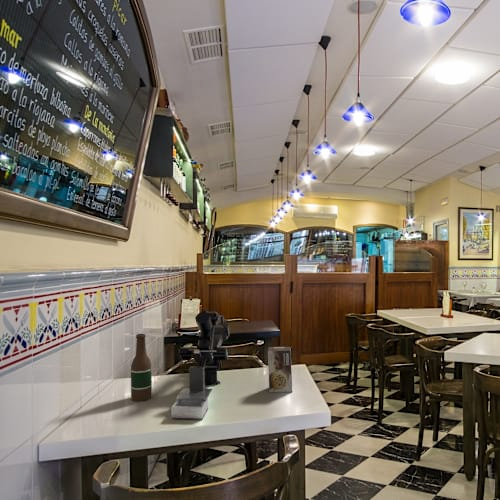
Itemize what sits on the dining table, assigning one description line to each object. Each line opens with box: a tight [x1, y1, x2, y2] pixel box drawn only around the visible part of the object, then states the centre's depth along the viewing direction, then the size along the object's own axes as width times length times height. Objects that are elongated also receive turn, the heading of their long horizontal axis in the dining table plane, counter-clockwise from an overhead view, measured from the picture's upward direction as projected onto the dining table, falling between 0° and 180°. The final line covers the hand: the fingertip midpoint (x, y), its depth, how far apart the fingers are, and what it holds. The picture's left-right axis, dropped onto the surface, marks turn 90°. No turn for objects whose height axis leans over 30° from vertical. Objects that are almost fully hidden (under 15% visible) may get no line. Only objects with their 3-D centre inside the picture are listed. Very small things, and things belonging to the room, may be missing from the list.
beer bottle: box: [130, 333, 153, 403], centre depth 141 cm, size 8×8×24 cm
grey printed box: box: [267, 346, 293, 393], centre depth 146 cm, size 9×6×16 cm
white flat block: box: [171, 398, 209, 421], centre depth 124 cm, size 9×10×4 cm
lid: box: [175, 365, 213, 401], centre depth 130 cm, size 10×11×9 cm
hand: (200, 373), depth 140 cm, fingers closed
